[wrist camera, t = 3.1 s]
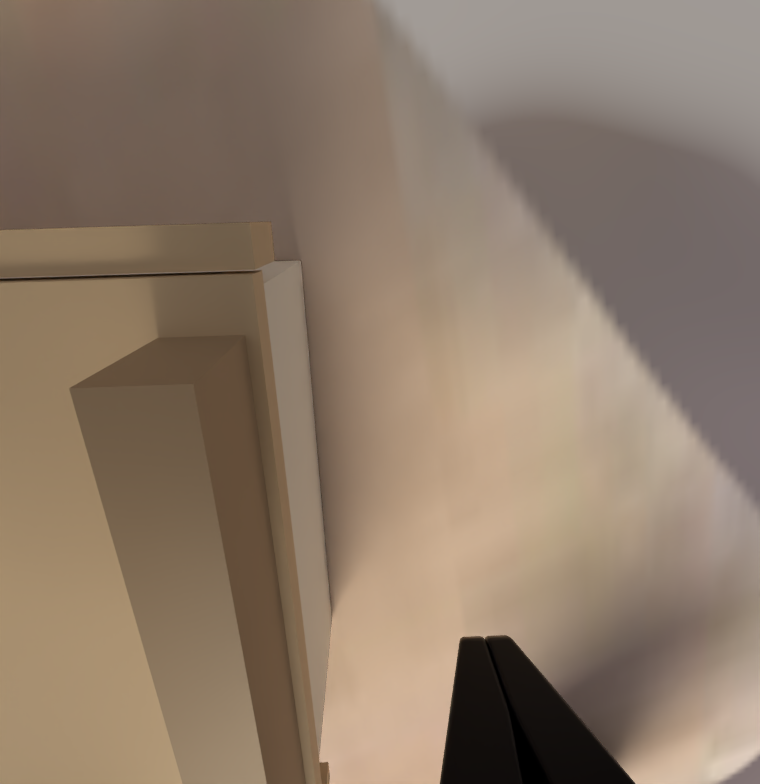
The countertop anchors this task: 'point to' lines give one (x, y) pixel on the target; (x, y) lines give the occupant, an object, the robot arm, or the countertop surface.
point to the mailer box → (298, 461)
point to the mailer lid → (146, 515)
